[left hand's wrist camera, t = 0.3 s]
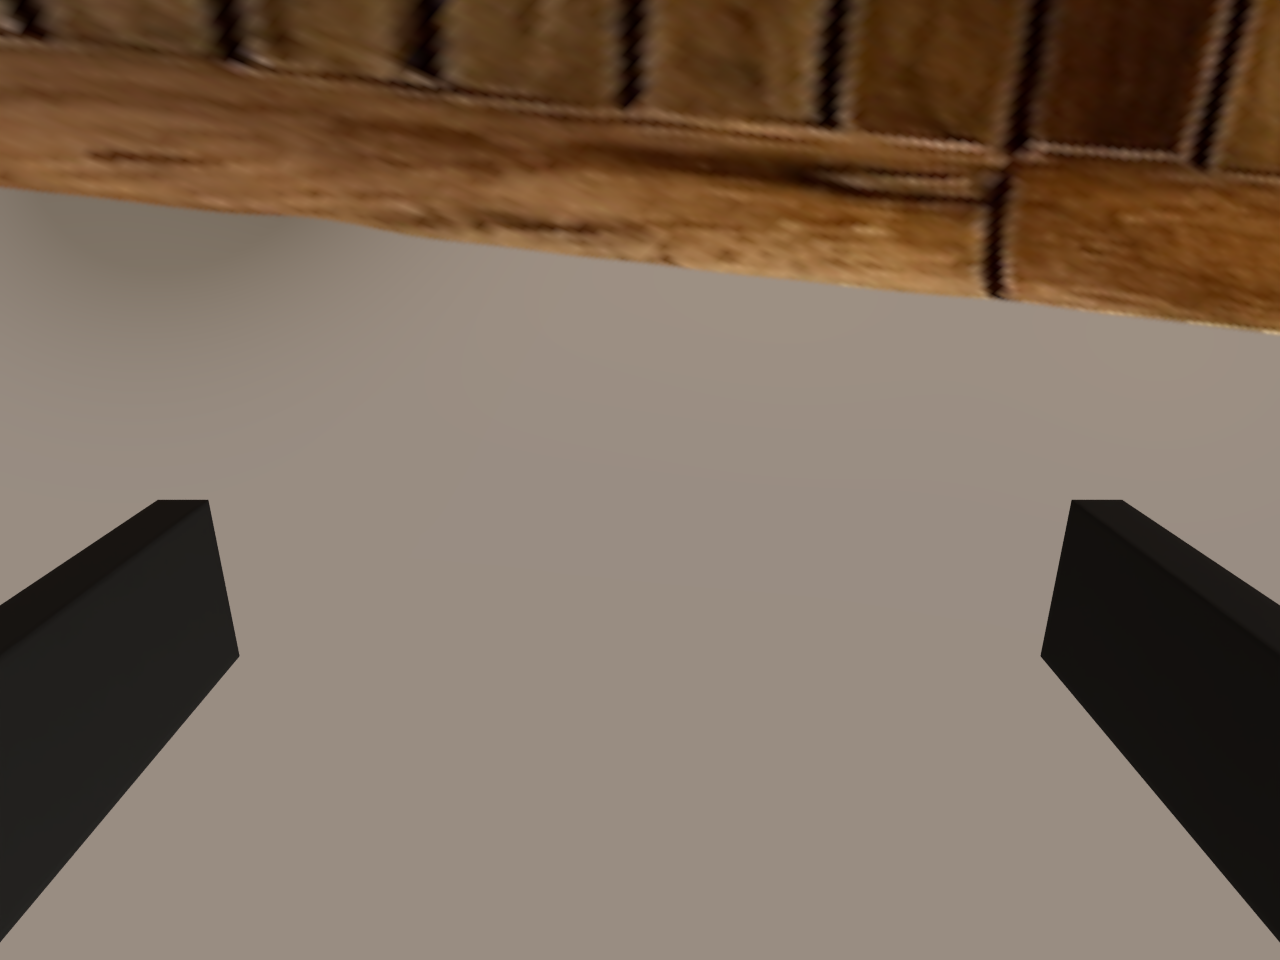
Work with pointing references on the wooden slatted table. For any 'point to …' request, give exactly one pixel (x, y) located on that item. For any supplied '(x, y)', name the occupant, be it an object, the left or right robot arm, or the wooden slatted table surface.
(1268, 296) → the wooden slatted table surface
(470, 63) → the wooden slatted table surface
